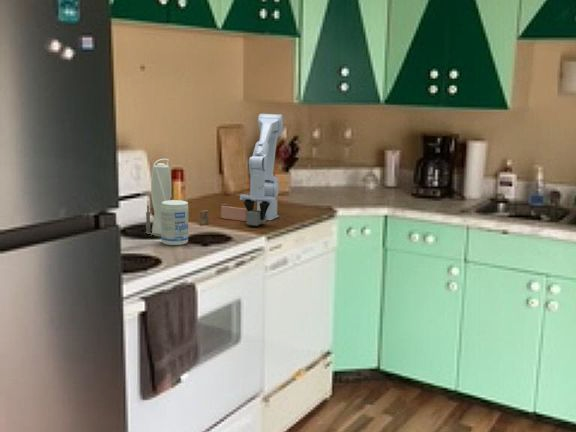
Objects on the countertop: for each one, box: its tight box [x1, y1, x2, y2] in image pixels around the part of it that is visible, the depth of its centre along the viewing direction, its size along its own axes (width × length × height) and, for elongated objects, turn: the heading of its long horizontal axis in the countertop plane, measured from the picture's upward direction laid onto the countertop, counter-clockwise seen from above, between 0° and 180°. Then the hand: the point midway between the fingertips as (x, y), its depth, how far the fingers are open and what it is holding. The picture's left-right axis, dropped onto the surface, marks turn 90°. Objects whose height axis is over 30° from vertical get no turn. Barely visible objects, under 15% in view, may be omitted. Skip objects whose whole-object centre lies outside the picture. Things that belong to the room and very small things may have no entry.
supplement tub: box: [160, 199, 189, 246], centre depth 234 cm, size 10×10×15 cm
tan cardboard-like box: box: [199, 203, 229, 226], centre depth 273 cm, size 20×2×6 cm, turn 157°
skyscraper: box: [145, 158, 172, 238], centre depth 246 cm, size 8×8×28 cm
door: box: [220, 205, 248, 222], centre depth 276 cm, size 11×1×5 cm, turn 67°
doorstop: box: [246, 209, 267, 226], centre depth 267 cm, size 9×4×5 cm, turn 157°
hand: (256, 219), depth 267 cm, fingers closed on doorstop, 4 cm apart
